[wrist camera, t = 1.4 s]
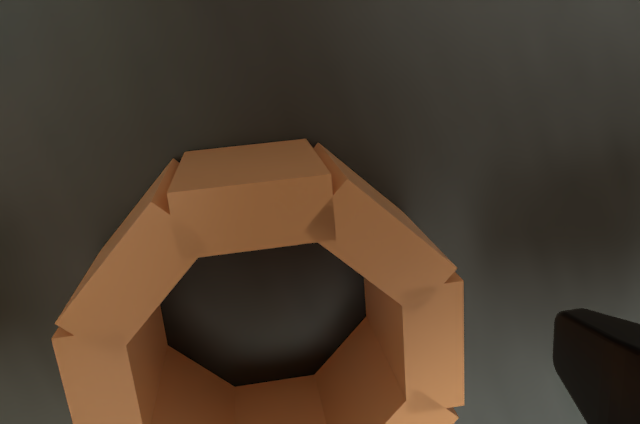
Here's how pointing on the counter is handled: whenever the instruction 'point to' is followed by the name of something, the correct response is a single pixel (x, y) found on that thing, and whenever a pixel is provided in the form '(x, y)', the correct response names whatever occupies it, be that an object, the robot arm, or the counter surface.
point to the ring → (255, 234)
